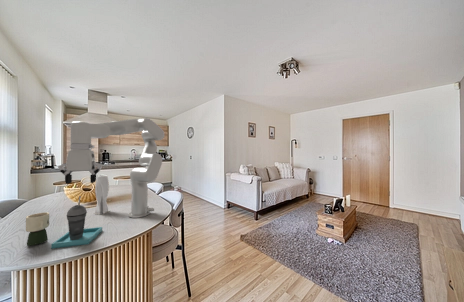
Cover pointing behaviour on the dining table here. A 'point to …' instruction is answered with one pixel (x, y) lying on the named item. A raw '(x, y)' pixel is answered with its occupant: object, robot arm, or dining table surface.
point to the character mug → (37, 228)
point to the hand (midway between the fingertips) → (81, 182)
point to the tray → (87, 238)
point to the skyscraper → (101, 194)
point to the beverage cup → (76, 221)
